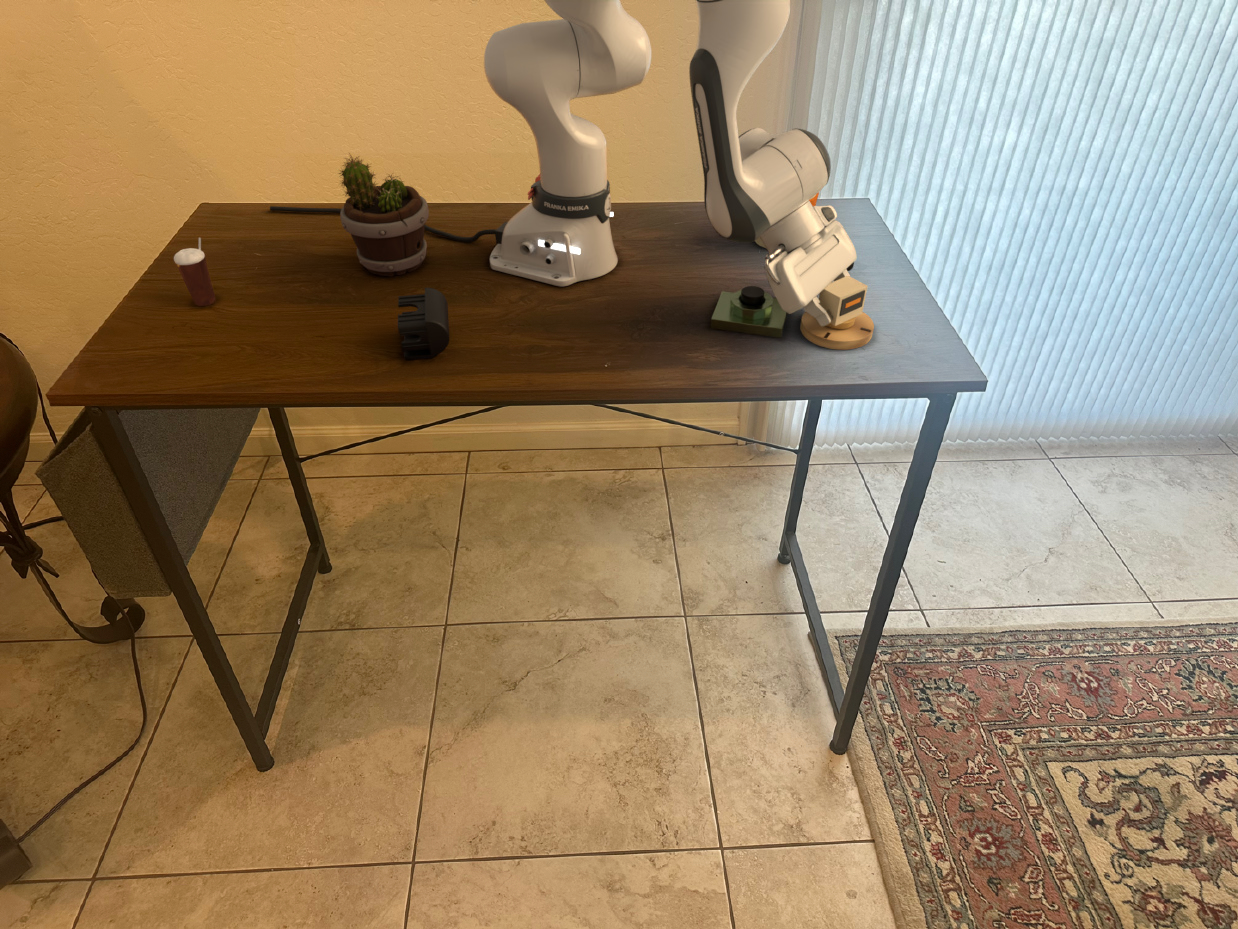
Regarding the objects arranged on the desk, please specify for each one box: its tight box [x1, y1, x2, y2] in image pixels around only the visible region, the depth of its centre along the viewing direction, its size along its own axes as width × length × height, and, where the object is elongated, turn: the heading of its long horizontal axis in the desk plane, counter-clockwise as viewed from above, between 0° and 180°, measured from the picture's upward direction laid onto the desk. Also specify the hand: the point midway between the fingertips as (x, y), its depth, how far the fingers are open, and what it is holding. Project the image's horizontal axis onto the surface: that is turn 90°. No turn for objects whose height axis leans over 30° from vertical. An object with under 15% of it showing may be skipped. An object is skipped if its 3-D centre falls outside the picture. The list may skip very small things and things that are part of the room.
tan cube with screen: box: [818, 275, 868, 329], centre depth 131 cm, size 5×6×6 cm
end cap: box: [397, 287, 450, 361], centre depth 130 cm, size 10×7×7 cm
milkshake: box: [173, 237, 216, 307], centre depth 139 cm, size 5×5×10 cm
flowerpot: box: [337, 152, 430, 277], centre depth 145 cm, size 14×15×20 cm
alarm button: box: [740, 285, 766, 306], centre depth 134 cm, size 4×4×2 cm
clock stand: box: [799, 311, 875, 351], centre depth 133 cm, size 11×11×2 cm
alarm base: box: [710, 289, 788, 339], centre depth 136 cm, size 11×9×4 cm
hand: (840, 311), depth 132 cm, fingers closed on tan cube with screen, 7 cm apart
